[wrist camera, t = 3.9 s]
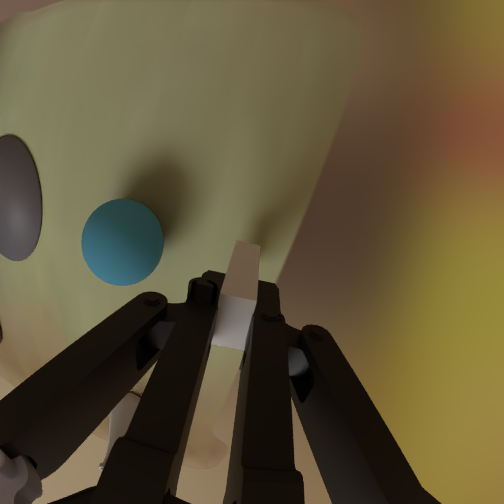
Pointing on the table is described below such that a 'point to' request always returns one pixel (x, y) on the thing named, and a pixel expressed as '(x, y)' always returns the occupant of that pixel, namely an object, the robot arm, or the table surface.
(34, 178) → the mark
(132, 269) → the ball
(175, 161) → the table surface
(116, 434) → the flask
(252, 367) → the robot arm
